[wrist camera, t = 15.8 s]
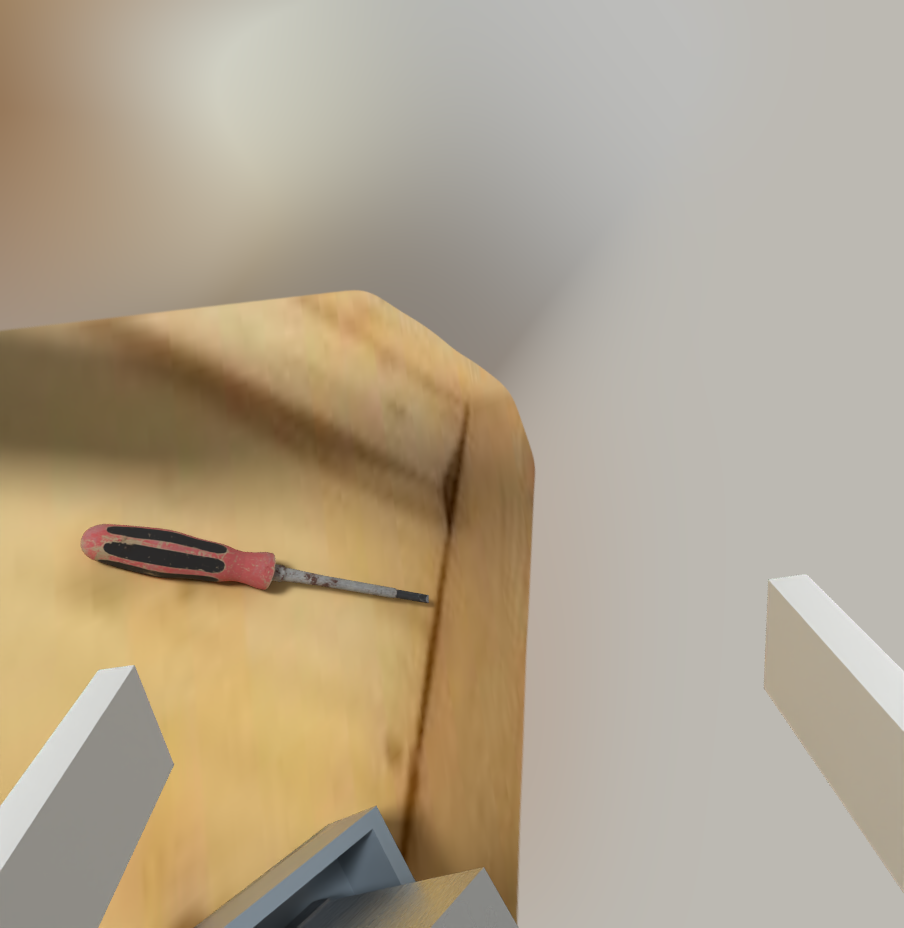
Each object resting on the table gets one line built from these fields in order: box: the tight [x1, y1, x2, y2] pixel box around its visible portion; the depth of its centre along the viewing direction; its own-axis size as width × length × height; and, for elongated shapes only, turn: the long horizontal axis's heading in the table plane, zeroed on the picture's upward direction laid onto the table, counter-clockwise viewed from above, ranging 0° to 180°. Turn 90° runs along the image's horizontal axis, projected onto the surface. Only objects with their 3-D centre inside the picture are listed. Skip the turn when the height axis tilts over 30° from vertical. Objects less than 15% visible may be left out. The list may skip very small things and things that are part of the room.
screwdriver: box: [81, 524, 429, 603], centre depth 46 cm, size 25×3×3 cm, turn 98°
